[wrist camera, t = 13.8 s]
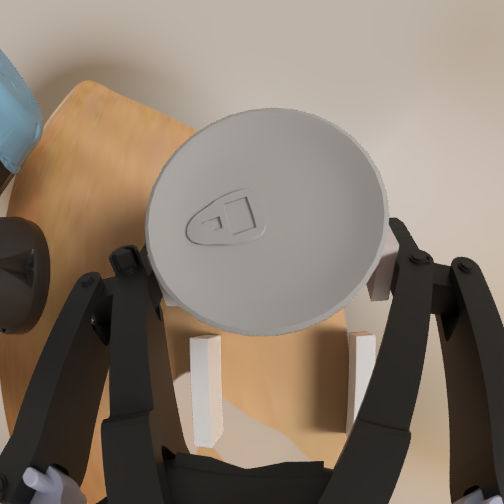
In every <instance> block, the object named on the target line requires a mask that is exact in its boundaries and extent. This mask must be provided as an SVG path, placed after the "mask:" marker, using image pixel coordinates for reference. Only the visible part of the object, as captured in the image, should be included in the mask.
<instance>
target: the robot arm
mask: <svg viewBox="0 0 504 504" xmlns="http://www.w3.org/2000/svg"><path fill="white" fill-rule="evenodd" d="M42 132H43V117H42V114H41V111H40V108H39V106H38V104H37V102H36V100H35V98H34V96H33V94H32V93H31V91H30V89H29V88H28V86H27V85H26V83H25V81H24V80H23V78H22V77H21V76H20V74H19V73H18V71H17V70H16V68H15V67H14V66H13V65H12V63H11V62H10V60H9V59H8V58H7V57H6V56H5V54H4V53H3V52H2V51H1V50H0V195H1V194H2V192H3V191H4V189H5V188H6V187H7V185H8V184H9V182H10V181H11V179H12V178H13V177H14V175H15V174H18V173H19V171H20V170H21V168H22V163H23V162H24V161H25V159H26V158H27V156H28V155H29V154H30V152H31V151H32V150H33V148H34V147H35V146H36V144H37V143H38V141H39V140H40V138H41V135H42ZM109 260H110V263H111V265H112V267H113V270H114V272H115V277H111V278H107V279H103V280H102V278H101V276H100V274H99V273H98V272H90V273H86V274H84V275H83V276H82V277H81V278H79V279H78V281H77V282H76V284H75V285H74V287H73V289H72V291H71V293H70V295H69V297H68V299H67V301H66V302H65V304H64V306H63V308H62V310H61V312H60V314H59V316H58V318H57V321H56V323H55V325H54V327H53V329H52V331H51V333H50V335H49V338H48V340H47V342H46V344H45V346H44V349H43V351H42V353H41V356H40V358H39V360H38V363H37V365H36V368H35V370H34V373H33V375H32V378H31V381H30V383H29V386H28V389H27V391H26V394H25V397H24V400H23V403H22V406H21V408H20V412H19V415H18V418H17V421H16V424H15V428H14V431H13V434H12V436H11V438H10V439H9V441H8V443H7V445H6V446H5V448H4V450H3V452H2V453H1V455H0V503H1V504H86V502H87V499H86V496H85V495H84V494H83V493H82V492H81V490H80V486H81V484H82V482H83V479H84V476H85V473H86V469H87V464H88V460H89V454H90V448H91V443H92V438H93V433H94V428H95V423H96V418H97V414H98V409H99V405H100V400H101V396H102V392H103V388H104V384H105V380H106V376H107V372H108V369H109V392H110V416H109V418H108V419H104V420H103V422H102V424H101V441H102V456H103V467H104V477H105V486H106V493H107V497H105V498H104V499H102V500H101V501H99V502H98V503H96V504H388V503H389V500H390V498H391V496H392V493H393V491H394V488H395V486H396V483H397V480H398V477H399V475H400V472H401V469H402V466H403V463H404V460H405V457H406V454H407V451H408V448H409V444H410V440H411V432H410V431H409V427H410V423H411V419H412V415H413V411H414V407H415V403H416V399H417V394H418V389H419V385H420V380H421V375H422V370H423V364H424V358H425V352H426V345H427V338H428V331H429V321H430V314H435V316H436V321H437V326H438V332H439V337H440V342H441V349H442V355H443V362H444V370H445V377H446V387H447V397H448V410H449V427H450V428H449V429H450V495H451V503H452V504H504V327H503V324H502V321H501V318H500V315H499V313H498V310H497V307H496V305H495V302H494V300H493V297H492V295H491V292H490V290H489V287H488V285H487V283H486V281H485V278H484V276H483V274H482V272H481V269H480V268H479V266H478V265H477V264H476V263H475V262H474V261H473V260H471V259H469V258H465V257H457V258H455V259H453V261H452V263H451V266H447V265H441V264H437V263H434V262H433V258H432V257H431V256H430V255H429V254H428V253H427V252H425V251H422V250H419V248H418V247H417V245H416V243H415V241H414V240H413V238H412V236H411V235H410V233H409V231H408V230H407V228H406V226H405V225H404V223H403V222H401V221H400V220H399V219H397V218H389V224H388V234H387V240H386V243H385V246H384V250H383V253H382V256H381V258H380V261H379V263H378V265H377V267H376V269H375V270H374V272H373V274H372V275H371V277H370V279H369V280H368V282H367V288H368V291H369V295H370V299H371V301H383V300H388V299H389V294H390V290H391V293H392V295H393V300H392V304H391V308H390V312H389V316H388V320H387V324H386V328H385V332H384V335H383V339H382V342H381V346H380V349H379V353H378V356H377V359H376V362H375V365H374V369H373V372H372V375H371V378H370V381H369V384H368V387H367V389H366V392H365V395H364V398H363V401H362V403H361V406H360V409H359V411H358V414H357V416H356V419H355V421H354V424H353V426H352V429H351V431H350V434H349V436H348V438H347V441H346V443H345V445H344V448H343V450H342V452H341V454H340V456H339V458H338V460H337V463H336V465H335V467H334V469H329V468H324V461H312V462H284V463H279V464H274V465H269V466H263V467H258V468H251V469H244V468H240V467H237V466H234V465H231V464H228V463H225V462H223V461H220V460H217V459H214V458H212V457H207V456H200V455H193V454H190V452H189V450H188V448H187V446H186V444H185V440H184V437H183V432H182V427H181V423H180V418H179V413H178V408H177V404H176V398H175V393H174V387H173V381H172V375H171V369H170V363H169V357H168V350H167V343H166V336H165V328H164V320H163V312H162V309H161V306H160V304H159V303H160V301H161V299H162V297H163V299H164V301H165V304H166V306H179V305H178V304H177V303H176V302H175V301H174V300H173V299H172V298H171V296H170V295H169V294H168V293H167V292H166V291H165V290H164V288H163V286H162V285H161V283H160V281H159V279H158V278H157V276H156V274H155V272H154V271H153V268H152V265H151V261H150V258H149V255H148V252H147V247H146V244H145V245H144V246H143V248H142V249H141V251H140V252H138V249H137V247H136V246H134V245H126V246H122V247H120V248H118V249H116V250H115V251H113V252H112V253H111V254H110V256H109ZM49 280H50V259H49V251H48V246H47V242H46V239H45V236H44V234H43V232H42V230H41V229H40V228H39V226H38V225H37V224H35V223H34V222H32V221H29V220H26V219H24V218H21V217H0V332H2V333H5V334H24V333H27V332H28V331H30V330H31V329H32V328H33V327H34V326H35V325H36V323H37V322H38V320H39V318H40V316H41V314H42V312H43V309H44V306H45V303H46V299H47V294H48V289H49ZM91 318H93V319H94V321H93V324H91Z"/></svg>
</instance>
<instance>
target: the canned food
mask: <svg viewBox="0 0 504 504" xmlns="http://www.w3.org/2000/svg"><path fill="white" fill-rule="evenodd" d="M388 224H389V207H388V200H387V192H386V189H385V186H384V183H383V180H382V178H381V175H380V172H379V170H378V168H377V167H376V165H375V164H374V162H373V160H372V159H371V157H370V155H369V154H368V152H367V151H366V150H365V149H364V148H363V147H362V146H361V145H360V144H359V143H358V142H357V141H356V139H355V138H353V137H352V136H351V135H350V134H348V133H347V132H346V131H344V130H343V129H341V128H340V127H338V126H337V125H335V124H334V123H332V122H330V121H327V120H325V119H323V118H321V117H319V116H316V115H314V114H310V113H306V112H302V111H298V110H293V109H280V108H265V109H256V110H248V111H244V112H240V113H237V114H233V115H229V116H227V117H225V118H223V119H220V120H218V121H216V122H214V123H211V124H210V125H208V126H206V127H205V128H204V129H202V130H200V131H199V132H197V133H196V134H194V135H193V136H191V137H190V138H189V139H188V140H187V141H186V142H185V143H184V144H183V145H181V146H180V147H179V148H178V149H177V150H176V151H175V153H174V154H173V155H172V156H171V158H170V159H169V160H168V162H167V163H166V164H165V166H164V167H163V168H162V170H161V172H160V174H159V176H158V178H157V180H156V182H155V184H154V186H153V188H152V192H151V195H150V198H149V202H148V205H147V210H146V220H145V237H146V247H147V252H148V255H149V258H150V261H151V265H152V268H153V271H154V272H155V274H156V276H157V278H158V279H159V281H160V283H161V285H162V286H163V288H164V290H165V291H166V292H167V293H168V294H169V295H170V296H171V298H172V299H173V300H174V301H175V302H176V303H177V304H178V305H179V306H180V307H181V308H182V309H184V310H185V311H186V312H188V313H189V314H191V315H192V316H193V317H195V318H196V319H198V320H199V321H201V322H203V323H206V324H208V325H210V326H213V327H215V328H217V329H220V330H222V331H227V332H231V333H236V334H241V335H246V336H278V335H283V334H287V333H292V332H297V331H301V330H304V329H306V328H308V327H311V326H313V325H315V324H318V323H320V322H322V321H324V320H326V319H328V318H329V317H331V316H332V315H333V314H335V313H336V312H338V311H339V310H341V309H342V308H343V307H345V306H346V305H347V304H348V303H349V302H350V301H351V300H352V299H353V298H354V297H355V296H356V295H357V294H358V292H359V291H360V290H361V289H362V288H363V287H364V286H365V285H366V284H367V282H368V280H369V279H370V277H371V275H372V274H373V272H374V270H375V269H376V267H377V265H378V263H379V261H380V258H381V256H382V253H383V250H384V246H385V243H386V240H387V234H388Z"/></svg>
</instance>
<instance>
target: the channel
mask: <svg viewBox="0 0 504 504" xmlns="http://www.w3.org/2000/svg"><path fill="white" fill-rule="evenodd" d="M374 365H375V335H374V334H372V333H369V332H353V333H352V332H351V333H349V383H348V406H347V423H346V436H347V438H348V436H349V434H350V431H351V429H352V426H353V424H354V421H355V419H356V416H357V414H358V411H359V409H360V406H361V403H362V401H363V398H364V395H365V392H366V389H367V387H368V384H369V381H370V378H371V375H372V372H373V369H374ZM190 369H191V393H192V412H193V429H194V443H195V446H201V447H208V448H212V447H213V446H214V444H215V443H216V441H217V440H218V439H219V437H220V436H221V435H222V433H223V415H222V383H221V335H201V336H197V337H192V338H190Z"/></svg>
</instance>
